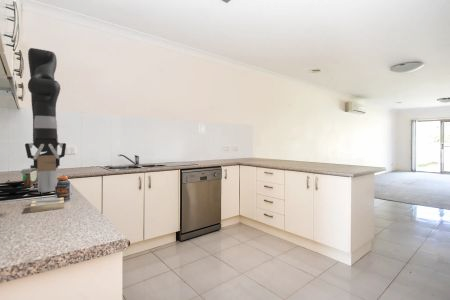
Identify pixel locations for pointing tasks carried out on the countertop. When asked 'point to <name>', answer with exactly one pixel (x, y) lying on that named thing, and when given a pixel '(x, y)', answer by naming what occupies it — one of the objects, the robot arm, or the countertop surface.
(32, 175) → the food container
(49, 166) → the walnut cube
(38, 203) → the tan flat square piece
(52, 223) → the countertop surface
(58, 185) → the pill bottle
